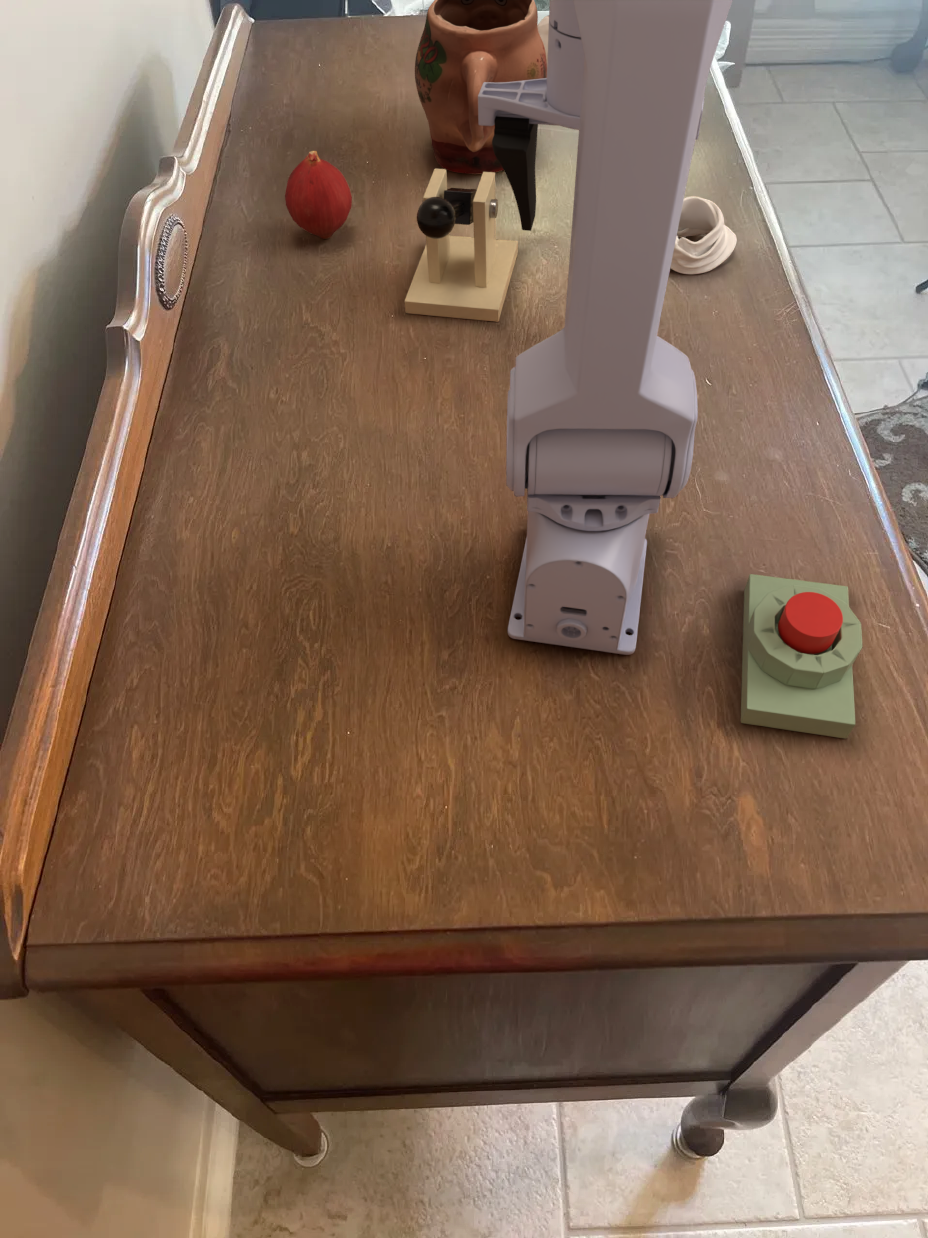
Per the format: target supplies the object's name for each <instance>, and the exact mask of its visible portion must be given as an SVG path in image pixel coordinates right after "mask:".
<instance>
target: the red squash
mask: <svg viewBox="0 0 928 1238" xmlns="http://www.w3.org/2000/svg"><path fill="white" fill-rule="evenodd" d="M284 200H285V206H286V209H287V211H288V213H289V216H290V217H291V219H292V220H293V221H294V223H295V224H296V225H297V226H298V227H299V228H301V229H303V230H304V231H305V232H307V233H309V234H311V235H313V236H315V237H318V238H320V239H323V240H327V239H330V238H331V237H332V236H333V235H334V234H335V233H336V232H337V231H338V230H340V229H341V227H342V226H343V225H344V224H345V222H347V220H348V217H349V214H350V212H351V210H352V203H353V197H352V193H351V189H350V186H349V184H348V181H347V180H346V176H344V174H343V173H342V172H341V171H340V170H339V169H338V168H337V167H336V166H334V165H333V164H332V163H331V162H329V161H327V160H324V159H323V158H320V157H319V155H318V152H317V150H311V151H308V154H307V155H306V156H305V157H304V159H302V160H300V162H299V163H298V164H297V165H296V166H295V167H294V168H293V169H292V171H291V172H290V174H289V176H288V179H287V182H286V188H285V192H284Z"/></svg>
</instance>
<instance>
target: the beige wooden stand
mask: <svg viewBox="0 0 928 1238" xmlns="http://www.w3.org/2000/svg"><path fill="white" fill-rule="evenodd" d="M447 189H448V177H447V170H446V169H444V168H434V169H433V172H432V174H431V177H430V179H429V181H428V184H427V186H426V189H425V191H424V194H423V196H422V200H421V201H422V203H423V202H424V201H425V200H426V199H428V198H431V197H441V198H444V190H447ZM476 190H477V191H476V194H475V197H474V200H473V223H472V225H473V236H462V235H461V236H460V235H450V233H451V232H450V233H449V234H448V235H447V236H445V237H443V238H440V239H433V238H429V237H427V236H426V235H425V246H424V249H423V251H422V254H421V256H420V259H419V262H418V264H417V267H416V270H415V272H414V274H413V278H412V280H411V282H410V285H409V288H408V291H407V293H406V296H405V298H404V301H403V303H404V310H405V314H410V315H411V314H412V315H421V316H430V317H431V316H434V317H443V318H453V319H454V318H455V319H464V320H465V319H466V320H475V321H486V322H497V323H498V322H500V318H501V315H502V311H503V307H504V305H505V302H506V301H505V300H506V297H507V293H508V289H509V286H510V282H511V279H512V276H513V271H514V268H515V264H516V262H517V261H516V260H517V257H518V254H519V241H518V240H512V239H511V240H510V239H499V238H498V239H497V237H496V236H497V235H496V234H497V233H496V219H497V217H498V213H499V200H498V199H496V172H483V173H482V174H481V177H480V180H479V182H478V185H477V188H476ZM422 203H421V204H422Z"/></svg>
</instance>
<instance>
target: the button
mask: <svg viewBox="0 0 928 1238" xmlns="http://www.w3.org/2000/svg"><path fill="white" fill-rule="evenodd" d="M842 623H843V615H842V612H841V610H840V608H839V606H838V605H837V604H836V603H835V602H834V601H833V600H832V599H830V598H828V597H827V596H825V595H822V594H819V593H815V592H803V593H799V594H796V595H794V596H793V597H791V598H790V599H789V600H788V602H787V604H786V606H785V608H784V611H783V613H782V615H781V618H780V620H779V623H778V631H779V634H780V637H781V638H782V640H783V641H784V642H785V643H786V644H787V645H788V646H789V647H791V648H792V649H794V650H796V651H798V652H802V653H806V654H816V653H820V652H823V651H825V650H827V649H828V648H829V647H830V646H831V645H832V643H833V641H834V640H835V638H836V636H837V634H838V632H839V630H840V628H841V626H842Z"/></svg>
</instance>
